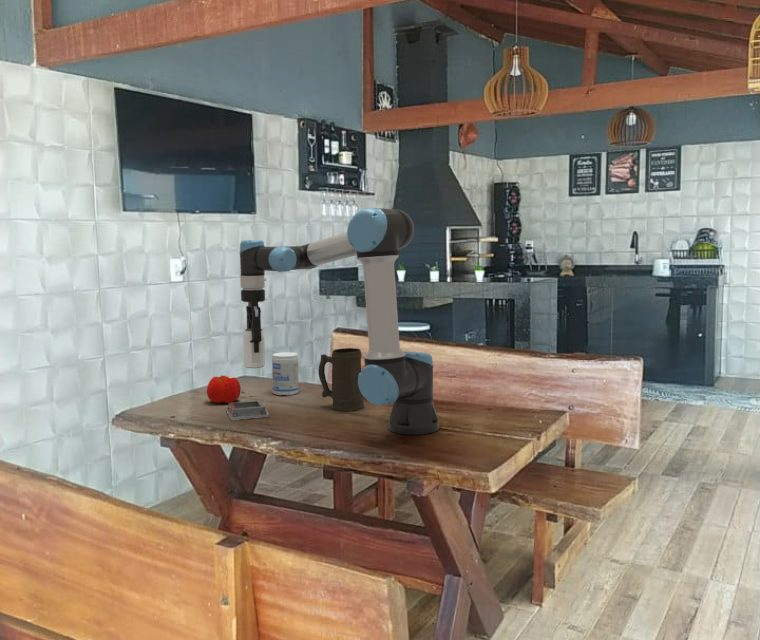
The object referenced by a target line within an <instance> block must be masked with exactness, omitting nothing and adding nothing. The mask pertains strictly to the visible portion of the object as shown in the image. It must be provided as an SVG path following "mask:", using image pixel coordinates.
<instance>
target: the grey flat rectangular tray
mask: <svg viewBox="0 0 760 640" xmlns="http://www.w3.org/2000/svg"><path fill="white" fill-rule="evenodd" d="M225 411H227V412H226V413H227V416H228V418H229V419H230V421H231V420H233V421H241V420H240V419H243V420H251V419H250V418H254V419H263V417H265V418H269V417H270V414H269V413H270V412H268V411H267V408H266V406H265V404H264V403H263V401H261V400H260V399H257V400H246V401H234V402H232V403H229V404H228V407H226V408H225Z"/></svg>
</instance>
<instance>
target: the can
mask: <svg viewBox="0 0 760 640" xmlns="http://www.w3.org/2000/svg"><path fill="white" fill-rule="evenodd" d="M261 339H262V340H261V341H260V355H261V362H260V363H252V352H251V343H250V340H252V333H251V329H247V328H245V329H244V333H243V362H244V365H243V366H244V367H245V368H246V369H261V368H264V367H265V365H266V364H265V361H266V360H265V359H266V358H265V356H266V353H265V334H264V331H263V328H261Z"/></svg>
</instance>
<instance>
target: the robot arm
mask: <svg viewBox="0 0 760 640" xmlns="http://www.w3.org/2000/svg"><path fill="white" fill-rule="evenodd" d="M414 234H415V225H414V222H413V220H412V217H410V216H409V214H408V213H406V212H405V211H403V210H400V209H395V208H379V207H371V208H364V209H360V210H359V211H357V212H355V214H353V216H352V218H350V220H349V222H348V225H347V230H346V232H343V233H340V234H336V235H334V236H333V235H332V236H330V237H326V238H323V239H320V240H316V241H313V242H311V243H310V242H309V243H306V244H303V245H295V246H294V245H292V246H265V241H264V240H262V239H261V240H260V239H243V240H241V241H240V244H239V246H240V247H239V263H240V264H239V265H240V266H239V267H240V269H239V270H240V276H239V278H240V279H239V281H240V288H241V290H240V301H241V302H244V303H248V304H247V305H246V307H245V309H246V310H245V311H246V329H251V333H252V340H250V343H251V352H252V363H260V362H261V355H260V341H261V340H262V339H261V329H262V328H261V327H262V325H261V324H262V323H261V322H262V321H261V314H262V310H261V307H260V306H259V302H261V303H262V302H264V301H265V300H266V290H265V289H264V288H265V285H266V284H265V282H266V281H267V278H265V271H269V272H278V273H283V272H284V273H285V272H291V271H296V270H313V269H316V268H318V267H319V266H321V265H325V264H330V263H332V262H336V261H341V260H343V259H348V258H352V257H355V256H356V260H358V261H359V262H360V263H361V264H362V267H363V270H362V271H363V282H364V295H365V308H366V311H365V312H366V324H367V336H368V337H367V338H368V352H367V353H366V354H365V355H364V356H363V357H364V365H365V367H364V368H363V369H362V368H361V372H360V373H359V376H358V386H359V389H360V392H361V394H362V395H363V397H364V398H365V399H366V400H367V402H369V403H371V404H372V405H375V406H385V405H391V404H392V405H393V406H392V408H391V411H390V415H389V416H388V417H389V418H388V420H387V421H388V422H387V423H388V424H387V425H388V428H387V429H388V430H389V431H390V432H392V433H396V434H400V435H412V436H414V435H415V436H417V435H427V434H432V433H435V432H437V431H438V430H439V429H440V420H439V417H438V414H437V411H436V407H435V405H434V361H433V356H432V354H430V353H427V352H422V351H421V352H419V351H405V350H402V349H401V345H400V332H399V317H398V302H397V300H398V299H397V288H396V273H395V262H396V260H397V259H398V258H399V256H400V255H399V254H400V251H399V250H401V249H403V248H405V247H407V246H408V245H409V244H410V243H411V241H412V240H413V238H414Z"/></svg>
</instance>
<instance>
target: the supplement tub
mask: <svg viewBox="0 0 760 640" xmlns="http://www.w3.org/2000/svg"><path fill="white" fill-rule="evenodd" d="M271 359H272V360H271V364H272V365H271V367H272V369H271V372H272V374H271V375H272V376H271V377H272V378H271V379H272V385H271V386H272V394H274V395H276V396H281V395H286V396H293V395H296V394H298V393H299V390H300V389H299V385H300V384H299V355H298V352H292V351H291V352H290V351H289V352H288V351H286V352H284V351H282V352H276V353H273V354H272V357H271Z"/></svg>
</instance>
